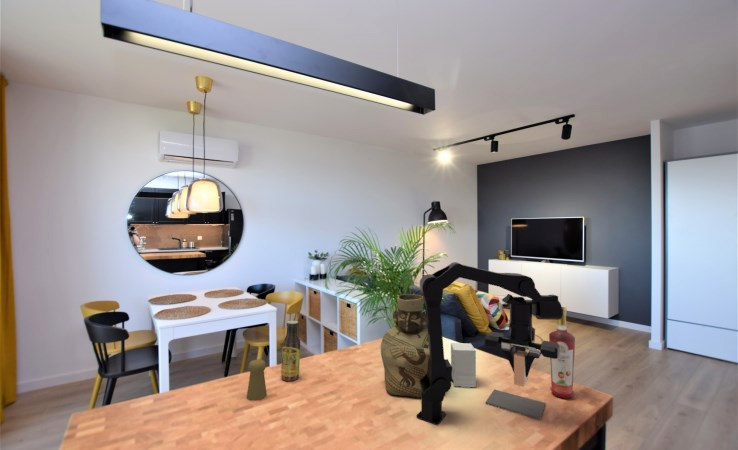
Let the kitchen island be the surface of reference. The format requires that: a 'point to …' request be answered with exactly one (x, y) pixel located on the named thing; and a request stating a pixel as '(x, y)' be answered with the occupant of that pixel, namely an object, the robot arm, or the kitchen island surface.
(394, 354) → the ceramic vessel
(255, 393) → the pepper mill
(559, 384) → the liquor
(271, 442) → the kitchen island surface
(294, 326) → the sauce bottle
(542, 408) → the mat
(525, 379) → the slab
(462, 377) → the supplement box
